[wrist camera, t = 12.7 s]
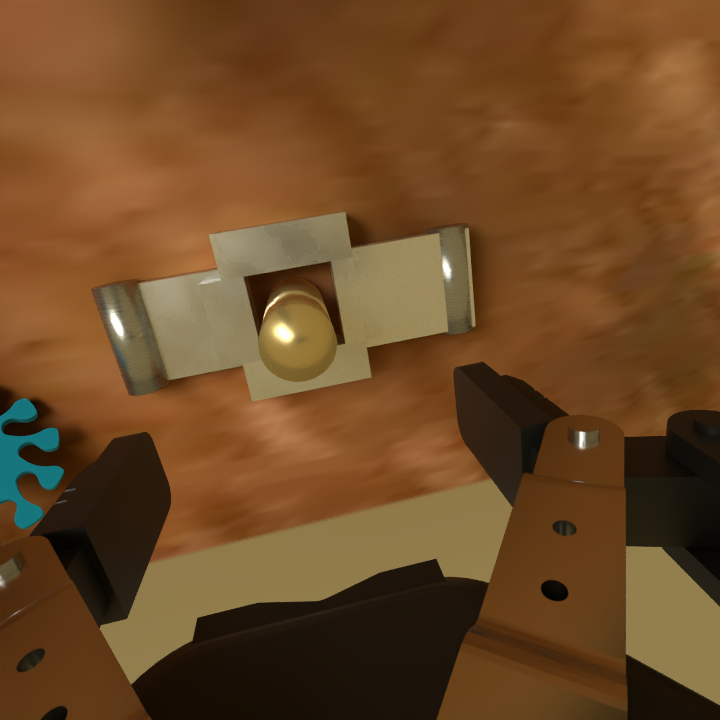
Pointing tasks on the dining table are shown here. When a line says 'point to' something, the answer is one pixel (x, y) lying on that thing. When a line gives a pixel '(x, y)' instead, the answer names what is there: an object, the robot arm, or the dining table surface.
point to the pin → (296, 332)
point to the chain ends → (239, 316)
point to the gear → (25, 462)
